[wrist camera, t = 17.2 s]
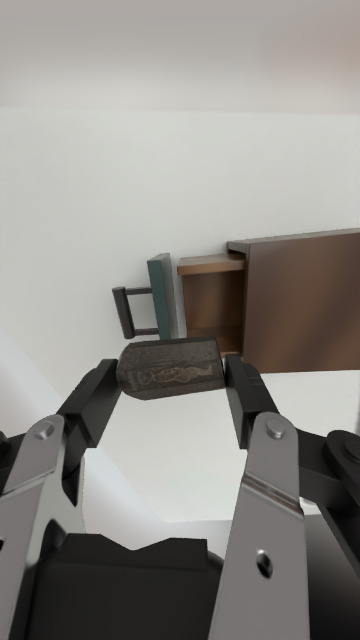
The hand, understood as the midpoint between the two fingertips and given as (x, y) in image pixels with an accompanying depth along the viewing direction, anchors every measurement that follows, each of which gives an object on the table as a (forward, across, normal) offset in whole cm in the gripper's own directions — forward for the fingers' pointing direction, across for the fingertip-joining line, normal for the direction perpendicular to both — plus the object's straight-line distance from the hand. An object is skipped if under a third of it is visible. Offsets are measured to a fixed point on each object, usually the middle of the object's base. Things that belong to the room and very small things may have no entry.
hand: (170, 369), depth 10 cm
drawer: (+15, -2, 0) cm, 15 cm away
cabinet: (+16, -13, 0) cm, 21 cm away
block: (+1, 0, 0) cm, 1 cm away
